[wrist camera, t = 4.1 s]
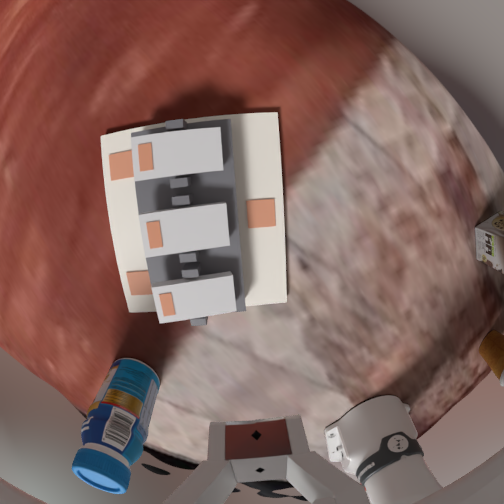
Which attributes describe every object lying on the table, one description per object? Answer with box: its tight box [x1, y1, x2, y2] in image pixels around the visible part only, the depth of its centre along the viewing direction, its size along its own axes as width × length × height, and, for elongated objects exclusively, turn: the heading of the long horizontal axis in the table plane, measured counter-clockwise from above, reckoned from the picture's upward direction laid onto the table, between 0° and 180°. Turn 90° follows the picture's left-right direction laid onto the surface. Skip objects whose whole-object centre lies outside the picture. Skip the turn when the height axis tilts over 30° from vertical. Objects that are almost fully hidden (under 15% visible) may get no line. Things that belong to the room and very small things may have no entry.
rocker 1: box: [131, 127, 223, 182], centre depth 23 cm, size 4×8×1 cm, turn 94°
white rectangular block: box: [151, 271, 237, 323], centre depth 27 cm, size 4×8×1 cm, turn 94°
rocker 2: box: [139, 202, 230, 258], centre depth 25 cm, size 4×8×1 cm, turn 94°
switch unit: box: [101, 112, 287, 326], centre depth 28 cm, size 22×20×6 cm
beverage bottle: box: [72, 358, 160, 494], centre depth 28 cm, size 8×8×20 cm
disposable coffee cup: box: [479, 330, 504, 386], centre depth 36 cm, size 10×10×12 cm
